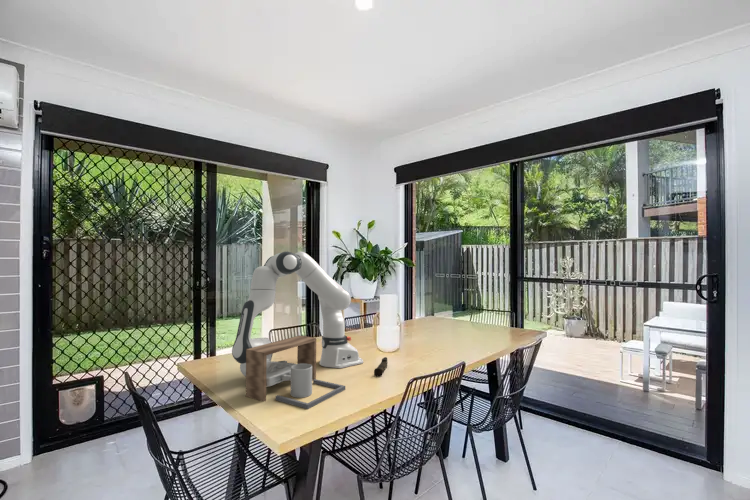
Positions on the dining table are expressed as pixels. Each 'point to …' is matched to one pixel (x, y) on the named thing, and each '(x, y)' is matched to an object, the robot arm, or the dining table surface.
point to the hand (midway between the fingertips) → (294, 377)
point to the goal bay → (308, 405)
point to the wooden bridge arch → (258, 362)
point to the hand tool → (381, 367)
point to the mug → (301, 380)
